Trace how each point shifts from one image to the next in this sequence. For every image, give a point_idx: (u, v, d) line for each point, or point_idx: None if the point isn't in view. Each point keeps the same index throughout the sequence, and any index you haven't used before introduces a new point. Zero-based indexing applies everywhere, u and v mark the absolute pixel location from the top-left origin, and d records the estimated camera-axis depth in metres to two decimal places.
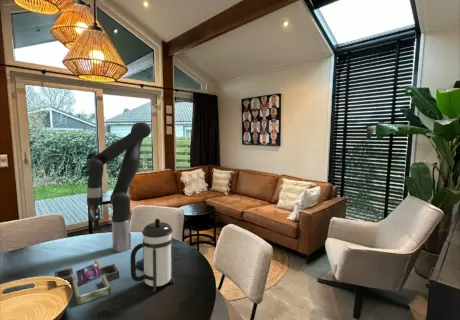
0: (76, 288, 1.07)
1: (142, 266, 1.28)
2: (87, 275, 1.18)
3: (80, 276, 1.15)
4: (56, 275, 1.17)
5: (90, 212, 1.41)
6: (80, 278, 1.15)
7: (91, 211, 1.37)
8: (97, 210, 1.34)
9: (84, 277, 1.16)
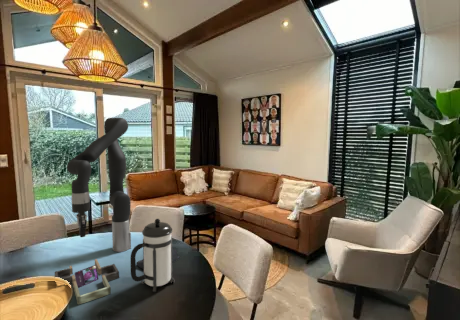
0: (76, 288, 1.07)
1: (142, 266, 1.28)
2: (86, 277, 1.17)
3: (79, 277, 1.14)
4: (56, 275, 1.17)
5: (77, 221, 1.25)
6: (78, 280, 1.14)
7: (77, 219, 1.23)
8: (83, 222, 1.20)
9: (82, 279, 1.15)
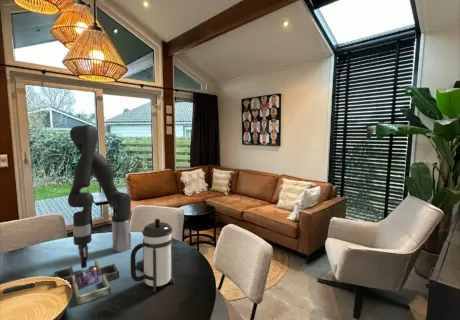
0: (76, 288, 1.07)
1: (142, 267, 1.27)
2: (86, 279, 1.15)
3: (79, 279, 1.13)
4: (56, 275, 1.17)
5: (79, 253, 1.25)
6: (78, 282, 1.12)
7: None
8: (85, 255, 1.21)
9: (82, 281, 1.13)
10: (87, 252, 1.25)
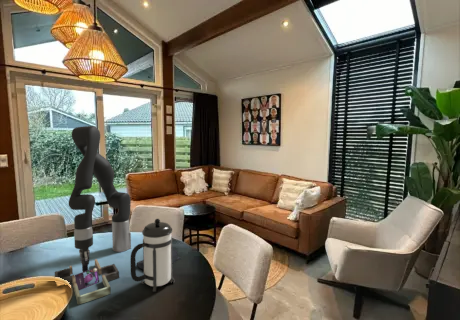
0: (76, 288, 1.07)
1: (142, 267, 1.27)
2: (86, 279, 1.15)
3: (79, 280, 1.12)
4: (56, 275, 1.17)
5: (80, 257, 1.22)
6: (79, 283, 1.12)
7: (80, 255, 1.20)
8: (86, 259, 1.17)
9: (83, 281, 1.13)
10: (88, 256, 1.22)
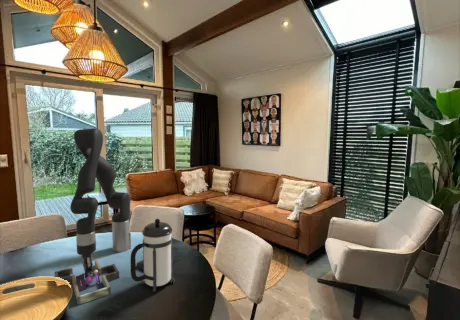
0: (76, 288, 1.07)
1: (142, 267, 1.27)
2: (87, 281, 1.13)
3: (80, 281, 1.11)
4: (56, 275, 1.17)
5: (82, 263, 1.16)
6: (79, 284, 1.11)
7: (82, 261, 1.14)
8: (89, 266, 1.12)
9: (83, 283, 1.12)
10: (91, 262, 1.16)
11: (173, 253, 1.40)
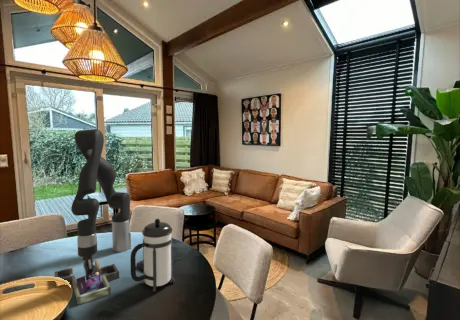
0: (76, 288, 1.07)
1: (142, 267, 1.27)
2: (88, 283, 1.12)
3: (81, 284, 1.09)
4: (56, 275, 1.17)
5: None
6: (80, 287, 1.09)
7: (83, 263, 1.13)
8: (90, 268, 1.10)
9: (84, 286, 1.10)
10: (92, 264, 1.15)
11: (173, 253, 1.40)
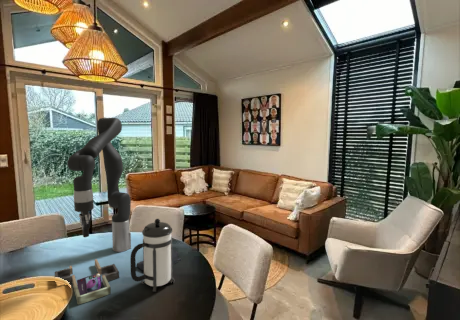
0: (76, 288, 1.07)
1: (142, 268, 1.27)
2: (89, 285, 1.11)
3: (81, 285, 1.08)
4: (56, 275, 1.17)
5: (80, 221, 1.16)
6: (81, 288, 1.08)
7: (80, 218, 1.15)
8: (87, 222, 1.12)
9: (85, 287, 1.09)
10: (89, 220, 1.16)
11: (173, 254, 1.40)
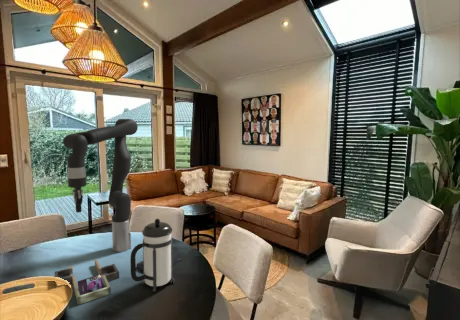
0: (76, 288, 1.07)
1: (142, 268, 1.26)
2: (90, 286, 1.10)
3: (82, 287, 1.07)
4: (56, 275, 1.17)
5: (73, 197, 1.24)
6: (81, 290, 1.07)
7: (73, 194, 1.22)
8: (79, 197, 1.19)
9: (86, 288, 1.08)
10: None
11: (174, 254, 1.39)
